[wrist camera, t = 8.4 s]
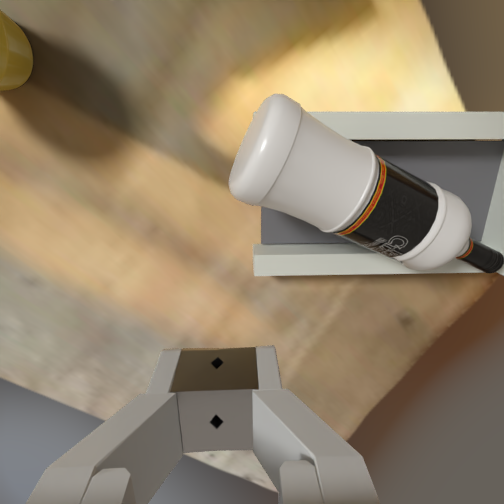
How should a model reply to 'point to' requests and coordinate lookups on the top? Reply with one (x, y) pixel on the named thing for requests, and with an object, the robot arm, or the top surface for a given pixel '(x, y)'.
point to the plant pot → (13, 55)
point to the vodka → (351, 191)
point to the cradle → (415, 162)
